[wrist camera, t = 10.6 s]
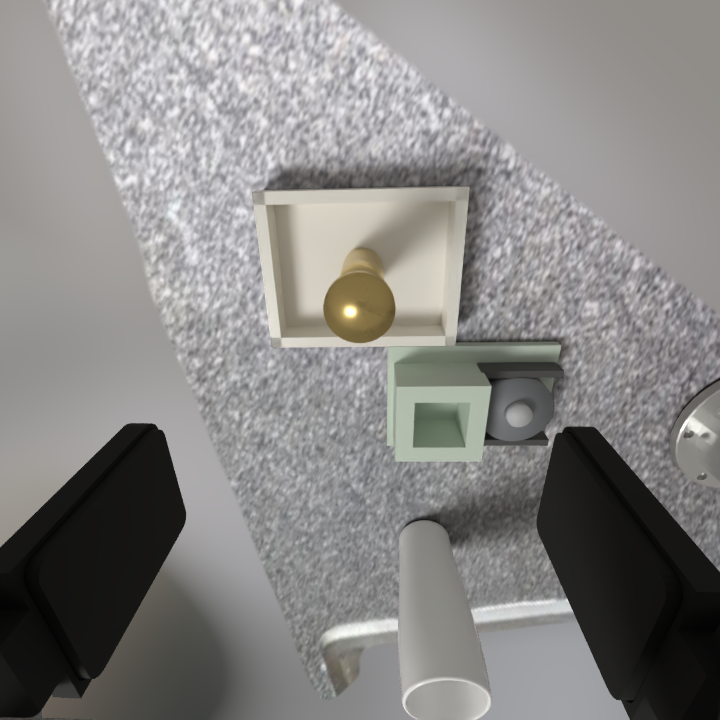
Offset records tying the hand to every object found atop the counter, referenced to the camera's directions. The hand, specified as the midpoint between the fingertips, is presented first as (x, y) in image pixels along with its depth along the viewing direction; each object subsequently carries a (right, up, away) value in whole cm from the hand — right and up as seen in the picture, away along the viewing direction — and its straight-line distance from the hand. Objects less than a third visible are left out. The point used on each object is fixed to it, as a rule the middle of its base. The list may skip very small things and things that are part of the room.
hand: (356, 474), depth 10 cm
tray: (0, +10, +21) cm, 23 cm away
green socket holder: (+10, 0, +26) cm, 27 cm away
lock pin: (0, +10, +20) cm, 23 cm away
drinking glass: (+7, -16, +33) cm, 38 cm away
